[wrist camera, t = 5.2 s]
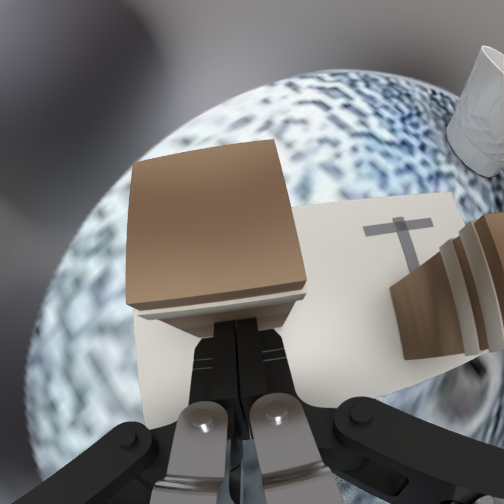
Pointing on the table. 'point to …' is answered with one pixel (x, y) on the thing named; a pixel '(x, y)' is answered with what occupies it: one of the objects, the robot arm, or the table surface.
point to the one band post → (213, 239)
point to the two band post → (456, 295)
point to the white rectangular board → (328, 307)
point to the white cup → (481, 116)
